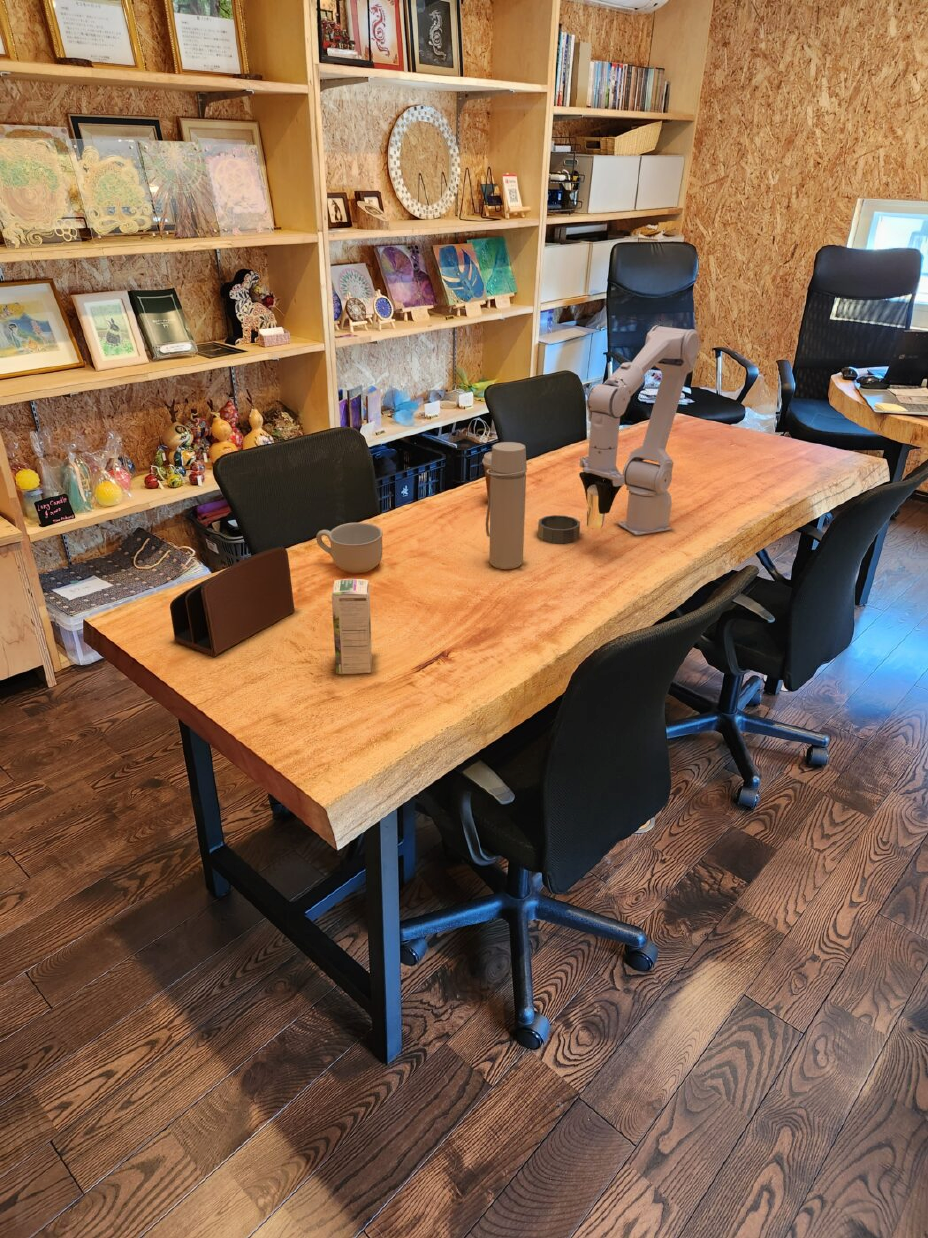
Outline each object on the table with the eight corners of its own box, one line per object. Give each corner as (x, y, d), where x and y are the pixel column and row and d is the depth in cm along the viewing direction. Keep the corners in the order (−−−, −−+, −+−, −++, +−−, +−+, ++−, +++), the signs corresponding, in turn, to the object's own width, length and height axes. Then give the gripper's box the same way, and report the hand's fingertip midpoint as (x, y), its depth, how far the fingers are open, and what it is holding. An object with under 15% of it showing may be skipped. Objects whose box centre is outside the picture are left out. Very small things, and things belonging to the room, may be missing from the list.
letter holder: (295, 612, 153) (288, 541, 146) (215, 658, 138) (202, 581, 132) (256, 599, 158) (247, 530, 151) (174, 642, 143) (160, 568, 136)
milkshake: (608, 531, 173) (613, 486, 168) (583, 529, 174) (587, 484, 169) (609, 523, 177) (614, 479, 172) (584, 521, 178) (588, 477, 173)
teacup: (393, 562, 173) (391, 527, 169) (366, 582, 164) (364, 545, 161) (337, 551, 178) (334, 516, 175) (308, 570, 170) (304, 534, 166)
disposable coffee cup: (526, 500, 207) (528, 453, 202) (507, 511, 200) (509, 463, 195) (494, 493, 212) (494, 447, 206) (474, 504, 205) (474, 457, 199)
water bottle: (531, 563, 173) (536, 446, 161) (507, 574, 168) (510, 454, 156) (498, 551, 179) (500, 437, 167) (473, 562, 173) (474, 445, 162)
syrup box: (338, 657, 138) (331, 578, 132) (373, 656, 139) (368, 577, 132) (336, 675, 133) (329, 594, 127) (372, 673, 134) (368, 593, 127)
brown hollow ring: (566, 526, 192) (567, 513, 190) (586, 539, 184) (587, 526, 183) (531, 531, 189) (531, 518, 187) (549, 545, 181) (550, 532, 180)
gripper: (568, 438, 172) (565, 500, 178) (604, 457, 160) (599, 523, 166) (598, 435, 174) (593, 496, 181) (635, 453, 162) (629, 518, 169)
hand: (598, 508), depth 174 cm, fingers closed on milkshake, 4 cm apart
